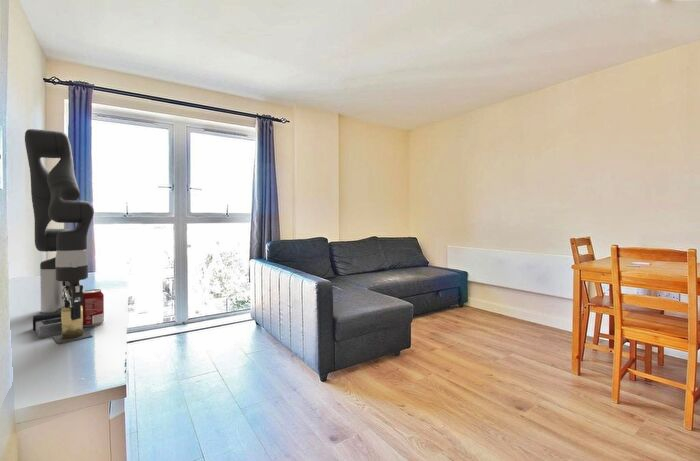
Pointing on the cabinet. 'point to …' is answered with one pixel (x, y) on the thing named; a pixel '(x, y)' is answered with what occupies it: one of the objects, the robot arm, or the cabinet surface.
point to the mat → (60, 340)
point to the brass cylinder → (71, 324)
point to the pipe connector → (46, 317)
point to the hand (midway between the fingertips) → (72, 316)
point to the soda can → (93, 307)
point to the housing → (48, 327)
